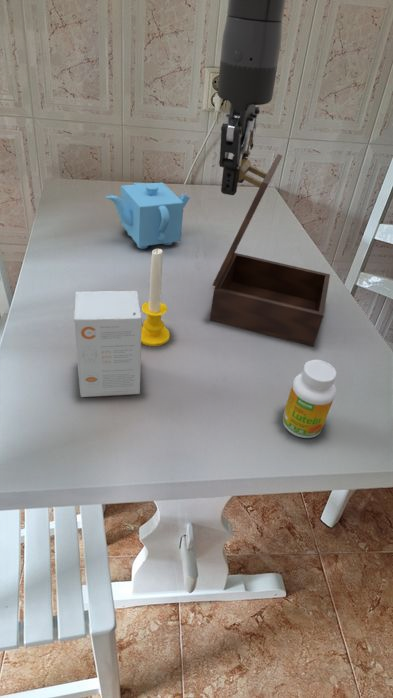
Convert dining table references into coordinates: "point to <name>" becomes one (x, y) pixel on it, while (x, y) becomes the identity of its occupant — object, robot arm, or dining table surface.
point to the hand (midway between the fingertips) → (232, 186)
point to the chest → (271, 299)
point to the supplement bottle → (310, 399)
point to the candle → (154, 306)
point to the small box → (108, 342)
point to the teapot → (150, 213)
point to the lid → (262, 188)
